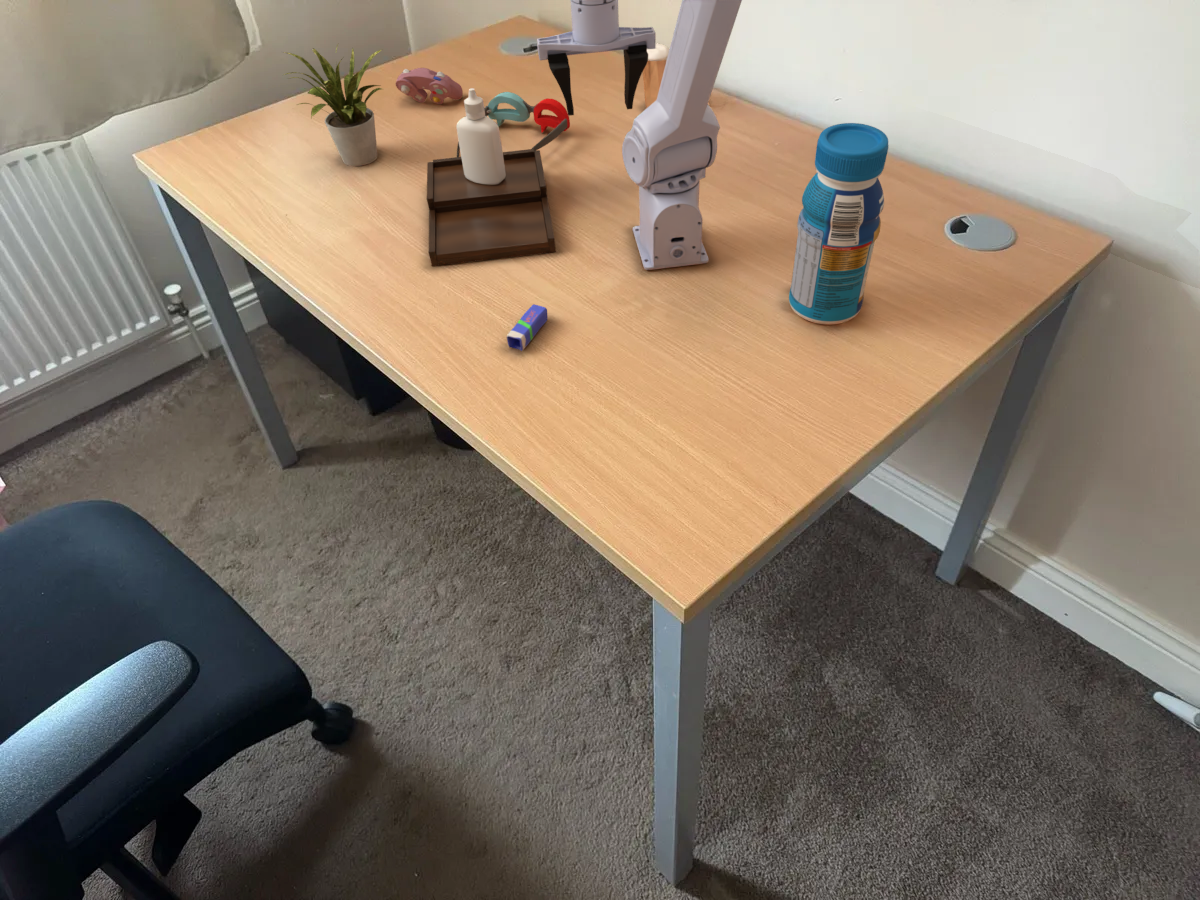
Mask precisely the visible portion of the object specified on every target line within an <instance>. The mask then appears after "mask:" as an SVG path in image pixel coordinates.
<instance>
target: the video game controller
mask: <svg viewBox="0 0 1200 900" xmlns="http://www.w3.org/2000/svg"><path fill="white" fill-rule="evenodd" d="M395 87H396V89H397V90H398V91H399V92H401V93H402V94H404V95H406V96H408V97H411V98H412V99H413V100H415V101H416V102H418V103H422V104H423V103H425V102H426V101H427V98H428V92H427V91H430V95H429V99H430V102H433V104H438V105H443V103H444V101H445V99H451V100H456V101H457V100H461V99H462V98H463V96H464V95H463V94H464V91H463V88H462V85H461V84H460V83H458V82H457V81H455V80H453V79H452V78H451V76H449V75H447V74H445V73H444V72H442V71H435V70H433V69H429V68H426V67H417V68H414V69H413V68H412V69H411V70H409V69H408V68H403V71H402V72H401V73H400V74H399V75H398V76H397V78H396V81H395Z"/></svg>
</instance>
